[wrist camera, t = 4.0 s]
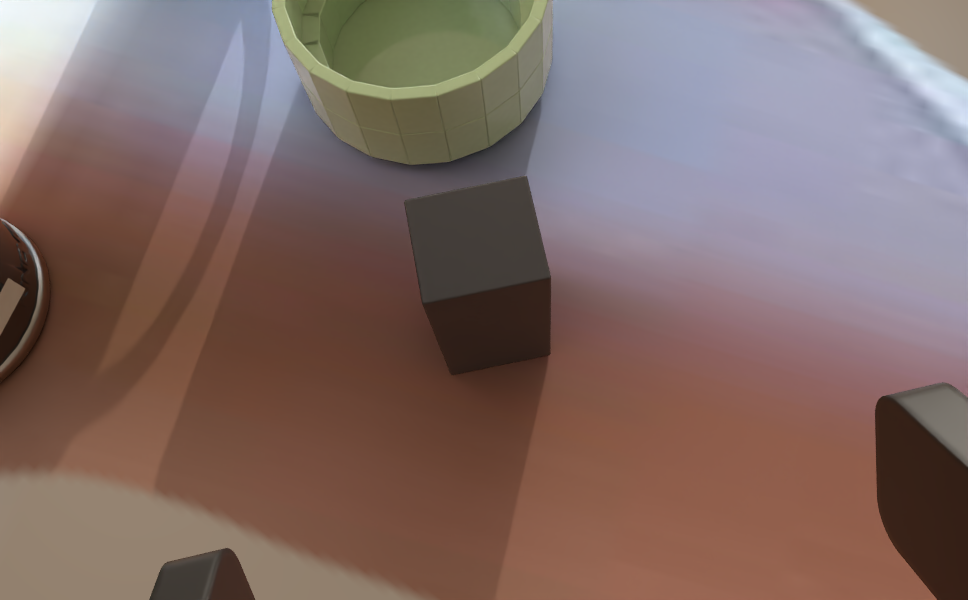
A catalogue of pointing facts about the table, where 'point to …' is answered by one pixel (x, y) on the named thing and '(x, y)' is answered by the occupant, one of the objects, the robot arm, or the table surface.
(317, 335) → the table surface
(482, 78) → the bowl
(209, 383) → the table surface
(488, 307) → the dark rectangular block
